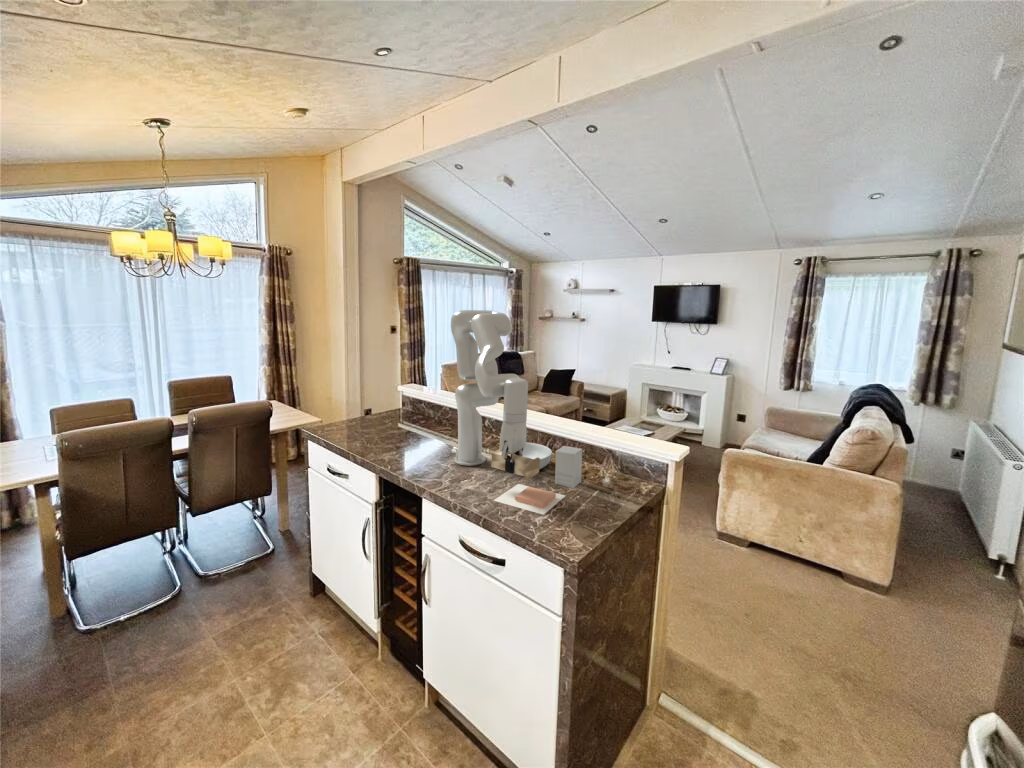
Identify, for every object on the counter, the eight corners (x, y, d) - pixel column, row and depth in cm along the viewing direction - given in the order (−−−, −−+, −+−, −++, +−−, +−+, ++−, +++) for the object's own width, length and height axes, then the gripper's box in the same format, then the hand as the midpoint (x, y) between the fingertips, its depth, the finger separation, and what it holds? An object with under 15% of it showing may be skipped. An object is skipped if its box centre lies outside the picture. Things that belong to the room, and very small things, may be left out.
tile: (515, 496, 139) (543, 503, 134) (528, 486, 147) (555, 493, 142) (515, 500, 140) (543, 508, 135) (528, 491, 147) (555, 498, 142)
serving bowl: (505, 479, 159) (505, 461, 157) (492, 460, 179) (492, 444, 177) (559, 474, 164) (560, 457, 163) (541, 456, 184) (541, 440, 183)
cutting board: (493, 502, 140) (493, 500, 140) (518, 485, 153) (518, 483, 153) (543, 516, 131) (543, 514, 131) (565, 497, 144) (565, 495, 144)
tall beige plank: (487, 468, 145) (488, 454, 144) (500, 461, 152) (501, 447, 151) (527, 480, 137) (528, 465, 136) (538, 472, 144) (539, 458, 143)
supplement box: (581, 482, 157) (583, 448, 155) (573, 489, 151) (575, 454, 148) (562, 478, 161) (563, 445, 158) (554, 485, 154) (555, 450, 152)
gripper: (517, 409, 150) (515, 460, 153) (490, 420, 136) (489, 476, 139) (537, 413, 146) (534, 465, 150) (511, 425, 132) (509, 481, 136)
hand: (513, 469), depth 145 cm, fingers closed on tall beige plank, 3 cm apart
